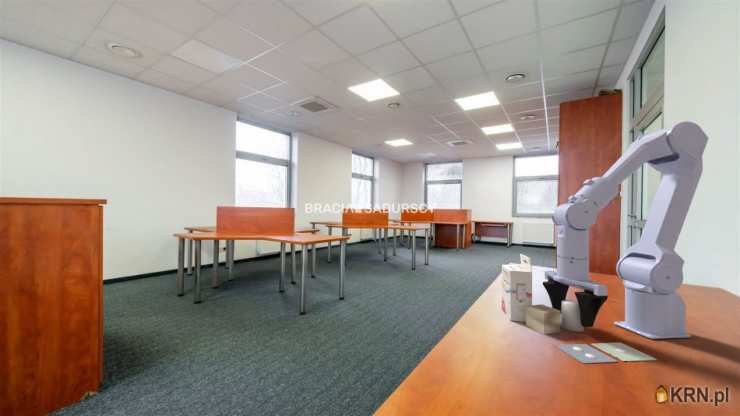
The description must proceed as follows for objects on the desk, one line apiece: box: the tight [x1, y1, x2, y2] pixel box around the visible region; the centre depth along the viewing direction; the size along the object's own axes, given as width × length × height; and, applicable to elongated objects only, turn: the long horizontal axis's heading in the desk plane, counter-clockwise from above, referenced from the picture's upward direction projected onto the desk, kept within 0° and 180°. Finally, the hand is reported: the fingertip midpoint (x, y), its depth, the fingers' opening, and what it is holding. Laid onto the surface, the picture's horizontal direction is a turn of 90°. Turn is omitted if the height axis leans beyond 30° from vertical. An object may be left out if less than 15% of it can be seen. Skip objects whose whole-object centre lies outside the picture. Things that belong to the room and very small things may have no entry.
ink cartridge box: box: [501, 253, 533, 323], centre depth 70 cm, size 9×5×15 cm, turn 168°
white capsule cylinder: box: [561, 299, 585, 333], centre depth 63 cm, size 4×4×6 cm
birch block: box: [525, 304, 562, 335], centre depth 62 cm, size 4×4×4 cm
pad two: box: [553, 343, 618, 364], centre depth 51 cm, size 6×6×1 cm
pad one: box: [590, 342, 658, 362], centre depth 52 cm, size 6×6×1 cm
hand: (572, 319), depth 63 cm, fingers open, 7 cm apart
